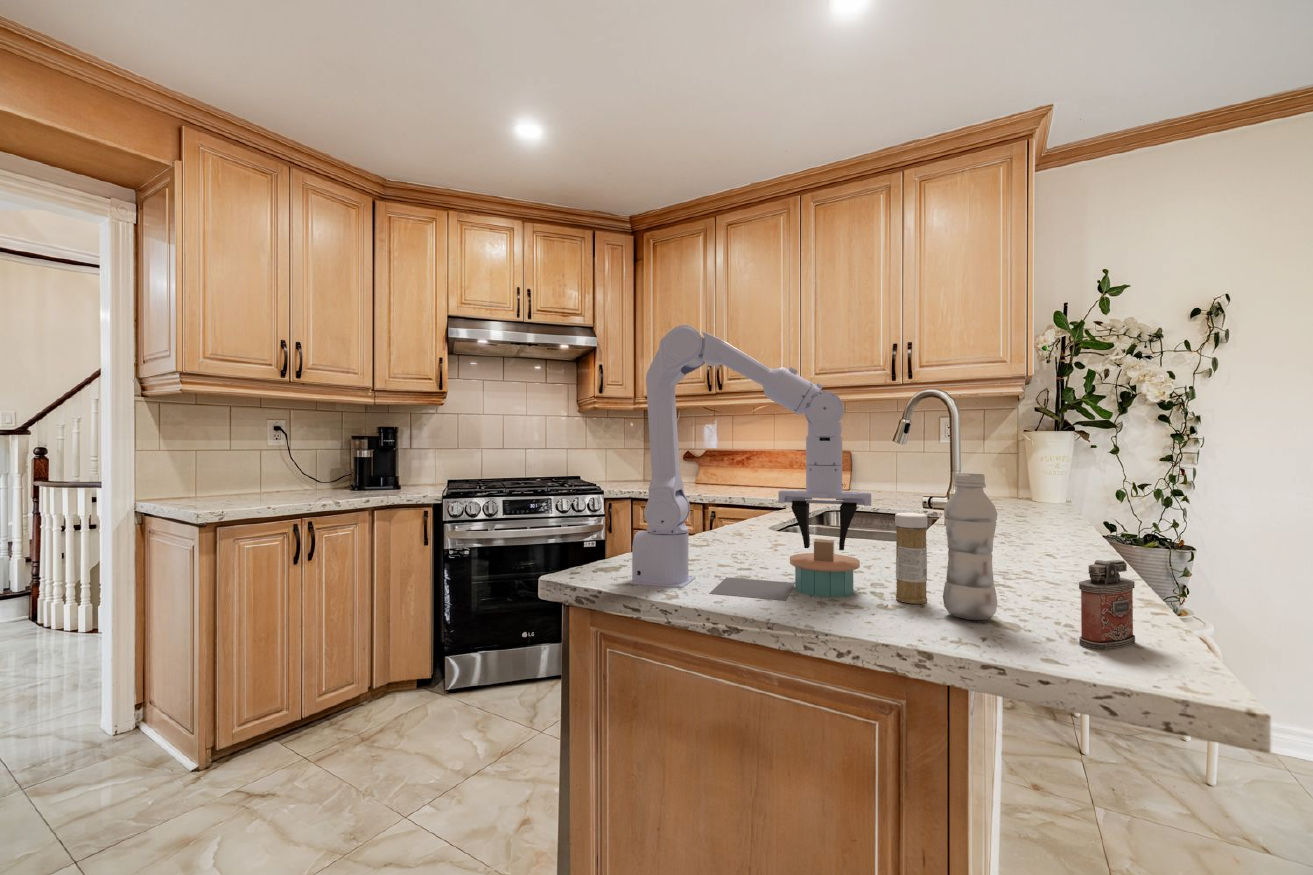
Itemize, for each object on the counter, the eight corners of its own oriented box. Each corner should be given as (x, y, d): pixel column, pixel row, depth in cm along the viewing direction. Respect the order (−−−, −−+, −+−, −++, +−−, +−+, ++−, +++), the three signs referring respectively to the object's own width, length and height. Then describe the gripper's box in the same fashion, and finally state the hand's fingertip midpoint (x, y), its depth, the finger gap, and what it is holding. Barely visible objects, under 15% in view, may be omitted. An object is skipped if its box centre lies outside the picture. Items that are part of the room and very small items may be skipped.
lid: (785, 568, 92) (785, 544, 92) (793, 555, 102) (793, 534, 102) (859, 573, 88) (859, 548, 88) (860, 560, 98) (860, 537, 98)
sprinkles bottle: (904, 595, 93) (904, 511, 93) (933, 601, 89) (932, 513, 89) (889, 600, 90) (889, 513, 90) (918, 606, 86) (918, 516, 86)
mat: (709, 595, 92) (709, 593, 92) (726, 579, 104) (726, 577, 104) (785, 602, 88) (785, 600, 88) (795, 585, 99) (795, 582, 99)
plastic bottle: (952, 608, 85) (951, 472, 86) (1004, 618, 80) (1003, 474, 81) (935, 617, 81) (934, 473, 81) (989, 629, 76) (988, 475, 76)
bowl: (792, 596, 92) (792, 567, 92) (799, 583, 101) (799, 557, 101) (852, 601, 89) (852, 572, 89) (854, 587, 98) (853, 561, 98)
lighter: (1102, 653, 67) (1101, 566, 67) (1071, 643, 70) (1071, 561, 70) (1143, 643, 70) (1142, 560, 71) (1111, 635, 74) (1111, 556, 74)
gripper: (775, 465, 94) (775, 549, 94) (871, 466, 89) (871, 555, 89) (781, 464, 101) (781, 542, 100) (871, 465, 96) (871, 547, 95)
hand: (824, 548), depth 95 cm, fingers open, 5 cm apart
